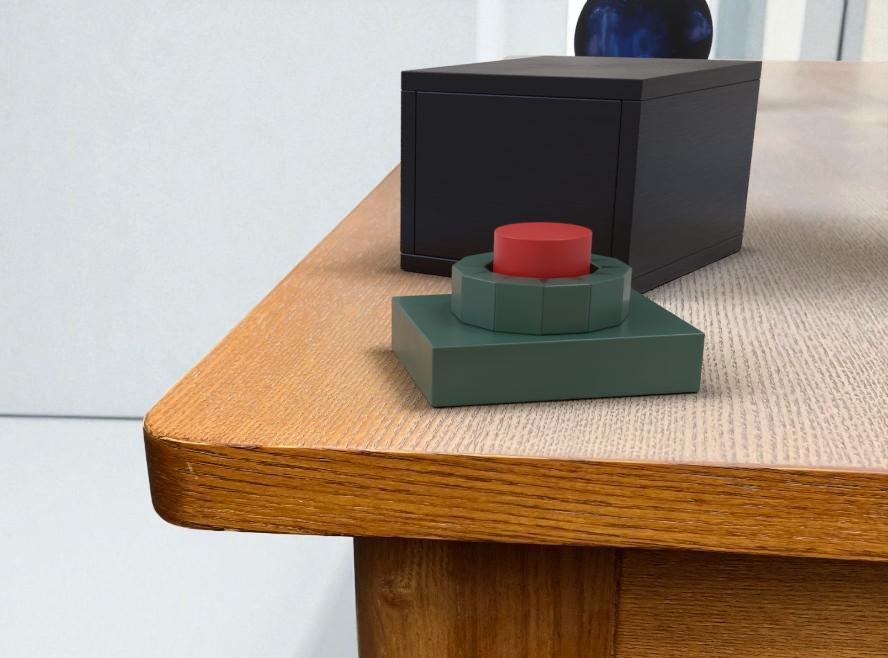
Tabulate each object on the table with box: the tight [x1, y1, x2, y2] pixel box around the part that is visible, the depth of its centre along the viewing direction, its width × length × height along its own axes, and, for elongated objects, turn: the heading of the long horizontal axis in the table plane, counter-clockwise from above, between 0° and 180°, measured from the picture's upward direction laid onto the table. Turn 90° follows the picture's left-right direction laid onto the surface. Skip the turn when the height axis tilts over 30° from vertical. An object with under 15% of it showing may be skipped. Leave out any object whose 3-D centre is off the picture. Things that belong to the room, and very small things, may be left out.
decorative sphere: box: [573, 0, 714, 60], centre depth 143 cm, size 15×15×15 cm
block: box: [391, 252, 706, 408], centre depth 49 cm, size 10×8×4 cm
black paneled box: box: [399, 55, 763, 294], centre depth 67 cm, size 15×13×10 cm
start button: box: [493, 222, 592, 279], centre depth 48 cm, size 4×4×2 cm
